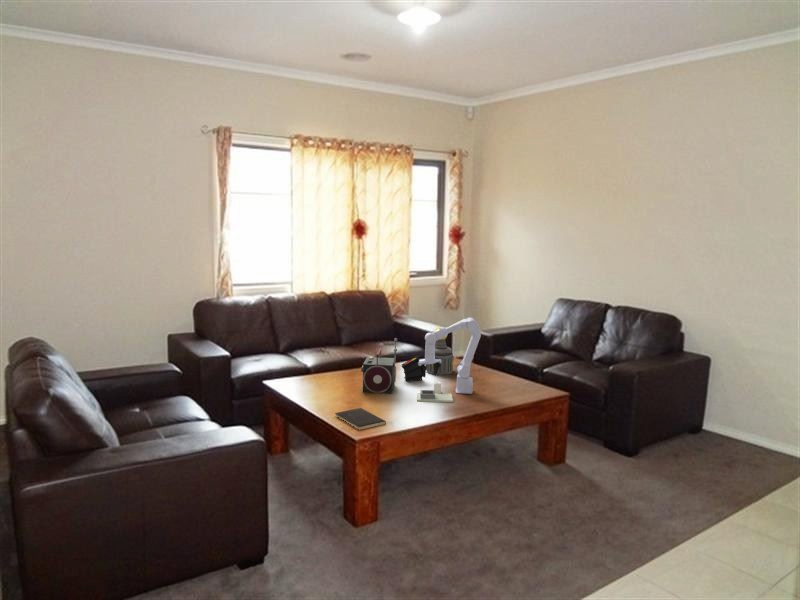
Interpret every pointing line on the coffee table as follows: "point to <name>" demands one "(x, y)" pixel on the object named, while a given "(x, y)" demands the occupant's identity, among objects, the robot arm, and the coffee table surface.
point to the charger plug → (437, 387)
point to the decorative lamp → (442, 358)
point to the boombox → (379, 373)
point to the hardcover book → (360, 418)
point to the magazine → (412, 370)
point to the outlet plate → (433, 396)
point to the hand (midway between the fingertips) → (429, 376)
